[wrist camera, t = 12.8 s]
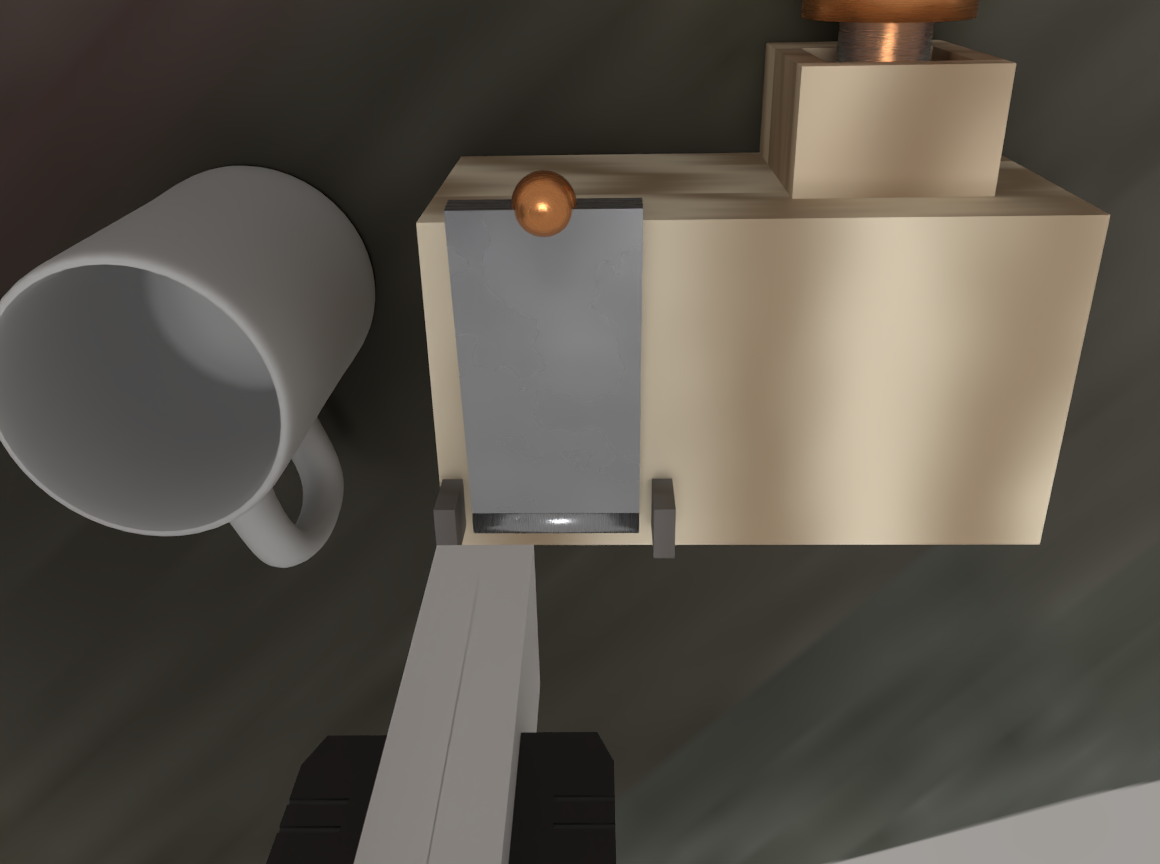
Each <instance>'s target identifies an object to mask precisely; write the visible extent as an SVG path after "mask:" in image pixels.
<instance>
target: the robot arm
mask: <svg viewBox="0 0 1160 864" xmlns="http://www.w3.org/2000/svg"><path fill="white" fill-rule="evenodd" d="M539 691H540V673H539V650H538V628H537V606H536V584H535V561H534V545H437V547H436V551H435V555H434V559H433V562H432V566H431V570H430V574H429V578H428V582H427V585H426V589H425V593H424V597H423V601H422V604H421V608H420V612H419V616H418V620H417V624H416V627H415V631H414V635H413V639H412V643H411V646H410V650H409V654H408V658H407V662H406V666H405V669H404V673H403V677H402V681H401V685H400V688H399V692H398V696H397V700H396V704H395V708H394V711H393V715H392V719H391V723H390V727H389V730H388V734H387V735H382V736H327V737H326V738H325V739H324V740H323V742H322V743H321V744H320V745H319V746H318V747H317V748H316V749H315V750H314V752H313V753H312V754H311V755H310V756H309V757H308V758H307V759H306V760H305V762H304V763H303V764H302V765H301V768H300V771H299V773H298V776H297V779H296V782H295V785H294V787H293V790H292V793H291V796H290V803H289V805H287V807H286V810H285V813H284V816H283V818H282V821H281V824H280V831H279V833H277V835H276V838H275V841H274V844H273V846H272V849H271V852H270V855H269V858H268V860H267V863H266V864H616V840H615V794H614V761H613V759H612V757H611V756H610V754H609V752H608V750H607V749H606V747H605V745H604V743H603V742H602V740H601V738H600V736H599V735H598V733H597V732H536V731H537V718H538V704H539Z"/></svg>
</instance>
